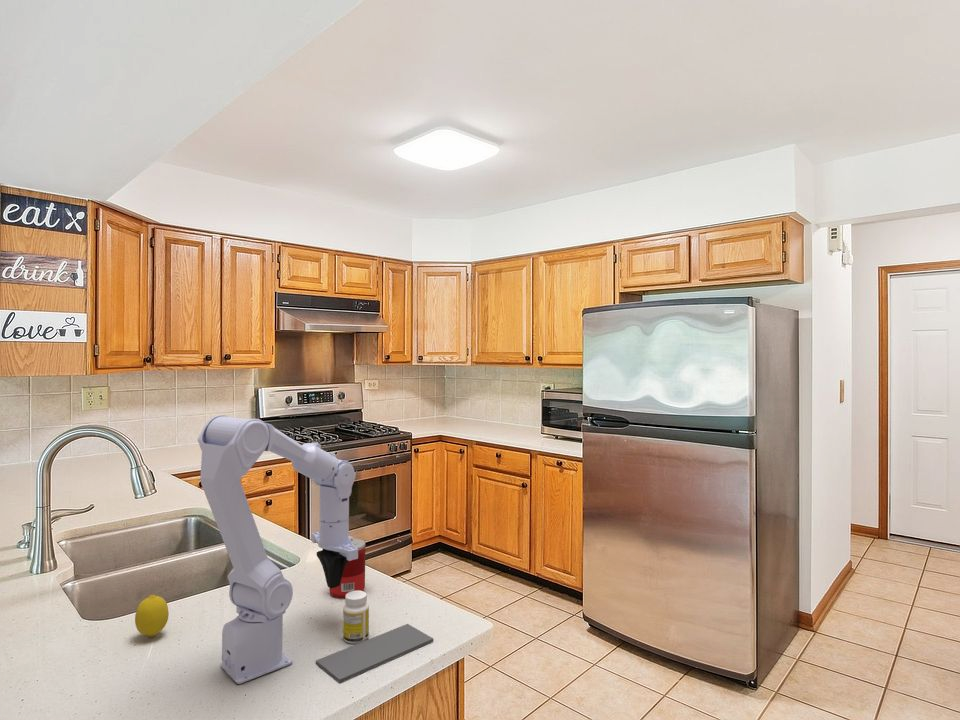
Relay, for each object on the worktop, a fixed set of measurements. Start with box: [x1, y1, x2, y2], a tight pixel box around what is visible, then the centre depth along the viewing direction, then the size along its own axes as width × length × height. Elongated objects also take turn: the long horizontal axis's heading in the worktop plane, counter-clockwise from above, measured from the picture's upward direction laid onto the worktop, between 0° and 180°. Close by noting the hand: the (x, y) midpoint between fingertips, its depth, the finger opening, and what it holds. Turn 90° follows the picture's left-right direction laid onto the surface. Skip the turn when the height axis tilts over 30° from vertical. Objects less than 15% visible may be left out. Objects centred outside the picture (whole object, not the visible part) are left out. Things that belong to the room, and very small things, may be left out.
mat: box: [315, 623, 434, 684], centre depth 105 cm, size 20×8×1 cm, turn 134°
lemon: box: [134, 594, 169, 638], centre depth 110 cm, size 6×6×8 cm
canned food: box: [328, 537, 366, 599], centre depth 131 cm, size 8×8×11 cm
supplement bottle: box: [342, 590, 370, 645], centre depth 110 cm, size 5×5×8 cm
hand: (333, 586), depth 116 cm, fingers closed
